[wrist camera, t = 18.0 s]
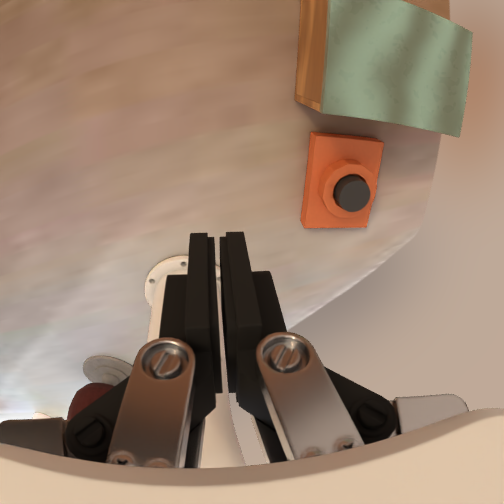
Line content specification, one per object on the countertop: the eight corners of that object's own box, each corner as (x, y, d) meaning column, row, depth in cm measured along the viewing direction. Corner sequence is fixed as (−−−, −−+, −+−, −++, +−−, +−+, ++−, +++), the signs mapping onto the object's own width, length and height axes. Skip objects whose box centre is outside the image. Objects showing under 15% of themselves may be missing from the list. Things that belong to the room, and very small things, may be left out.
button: (360, 205, 37) (366, 212, 35) (331, 205, 36) (336, 212, 35) (367, 175, 35) (373, 181, 33) (336, 174, 34) (342, 179, 33)
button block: (360, 220, 42) (372, 235, 39) (300, 220, 41) (308, 236, 38) (376, 138, 36) (392, 147, 32) (310, 131, 34) (321, 140, 31)
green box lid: (468, 32, 20) (472, 32, 19) (455, 135, 27) (459, 137, 26) (328, -19, 18) (331, -20, 17) (319, 112, 25) (322, 113, 24)
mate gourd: (153, 368, 55) (147, 463, 39) (133, 397, 61) (127, 477, 45) (77, 340, 49) (53, 436, 33) (69, 374, 55) (51, 455, 39)
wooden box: (417, 28, 27) (462, 29, 20) (407, 116, 34) (449, 134, 27) (300, -2, 25) (328, -18, 18) (294, 100, 32) (319, 112, 25)
